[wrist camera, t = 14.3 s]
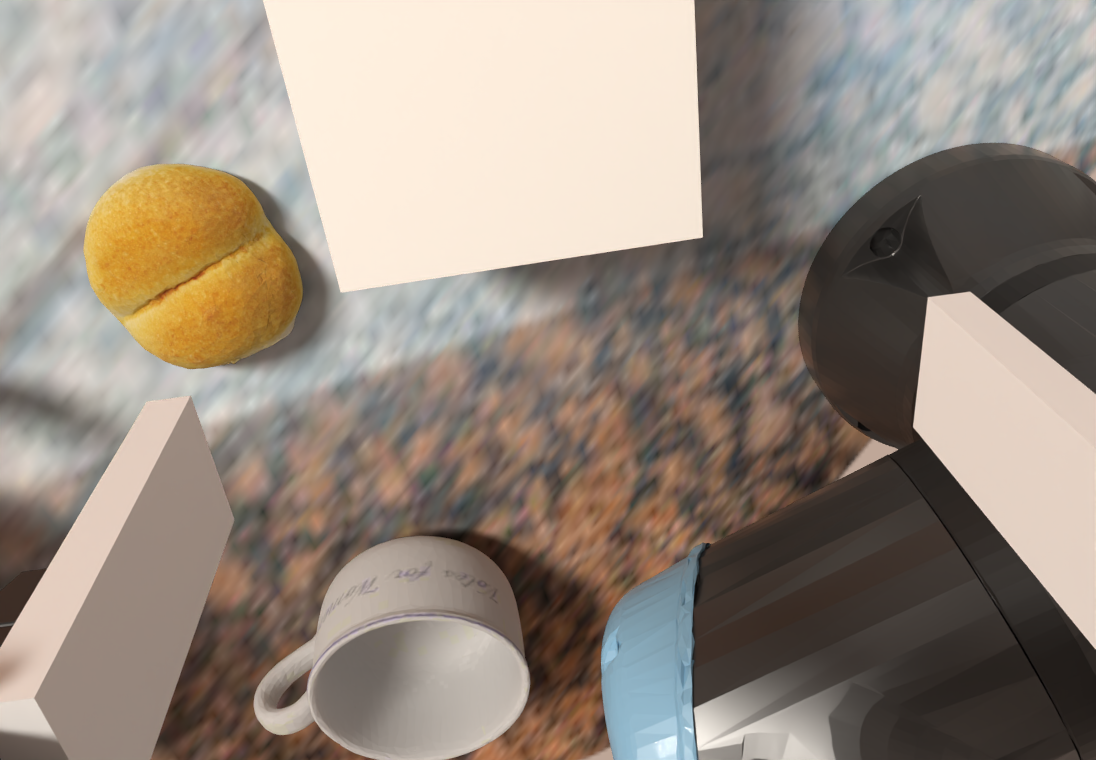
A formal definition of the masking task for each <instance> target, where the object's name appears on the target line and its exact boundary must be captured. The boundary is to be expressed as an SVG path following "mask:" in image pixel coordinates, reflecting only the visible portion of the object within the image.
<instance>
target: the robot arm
mask: <svg viewBox="0 0 1096 760" xmlns="http://www.w3.org/2000/svg"><path fill="white" fill-rule="evenodd" d="M798 329H799V341H800V346H801V351H802V354H803V358H804V361H805V363H806V366H807V369H808V370H809V372H810V374H811V376H812V378H813V380H814V381H815V383H816V384H817V386H818V387H819V389H820V390H821V391H822V393H823V394H824V396H825V397H826V399H827V400H828V401H829V403H830V404H831V405H832V407H833V408H834V409H835V410H836V411H837V412H838V414H839V415H840V416H841V417H842V418H843V419H845V420H846V421H847V422H848V423H849V424H850V425H851V426H853V427H854V428H856V429H857V430H858V431H860V432H862V433H863V434H865V435H866V436H868V437H870V438H872V439H874V440H876V441H879V442H881V443H883V444H886V445H889V446H892V447H895V448H897V449H898V450H897V451H896V452H894V453H892V454H890V455H887V456H885V457H883V458H881V459H879V460H877V461H875V462H873V463H871V464H869V465H867V466H865V467H863V468H861V469H859V470H857V471H855V472H853V473H851V474H849V475H847V476H845V477H843V478H841V479H839V480H837V481H835V482H834V483H832V484H830V485H828V486H826V487H824V488H822V489H820V490H818V491H816V492H814V493H812V494H810V495H808V496H806V497H804V498H802V499H800V500H798V501H796V502H794V503H792V504H790V505H788V506H786V507H784V508H782V509H780V510H778V511H776V512H774V513H773V514H771V515H769V516H767V517H765V518H763V519H761V520H759V521H757V522H755V523H753V524H751V525H749V526H747V527H745V528H743V529H741V530H739V531H737V532H735V533H733V534H731V535H729V536H727V537H725V538H723V539H721V540H719V541H717V542H715V543H714V544H712V545H711V544H710V543H702V544H700V545H698V546H696V547H694V548H693V549H692V550H691V552H690V554H689V556H688V557H687V558H685V559H683V560H681V561H680V562H678V563H676V564H675V565H673V566H671V567H669V568H668V569H666V570H664V571H662V572H661V573H659V574H657V575H655V576H654V577H652V578H650V579H649V580H647V581H645V582H643V583H642V584H640V585H638V586H636V587H635V588H633V589H632V590H630V591H629V592H628V593H627V594H625V595H624V596H623V598H622V599H621V600H620V601H619V602H618V603H617V604H616V606H615V607H614V609H613V611H612V613H611V615H610V617H609V619H608V622H607V625H606V628H605V632H604V637H603V642H602V651H601V670H602V696H603V705H604V712H605V719H606V725H607V731H608V736H609V741H610V745H611V750H612V754H613V759H614V760H1096V182H1095V181H1094V180H1093V179H1092V178H1091V177H1089V176H1088V175H1086V174H1085V173H1083V172H1082V171H1080V170H1078V169H1076V168H1075V167H1073V166H1071V165H1069V164H1067V163H1065V162H1063V161H1061V160H1059V159H1057V158H1055V157H1053V156H1051V155H1049V154H1046V153H1044V152H1042V151H1039V150H1036V149H1033V148H1030V147H1026V146H1021V145H1015V144H1007V143H980V144H971V145H965V146H960V147H955V148H951V149H948V150H944V151H941V152H938V153H935V154H932V155H929V156H927V157H924V158H922V159H920V160H917V161H915V162H913V163H911V164H909V165H907V166H905V167H904V168H902V169H900V170H898V171H897V172H895V173H893V174H892V175H890V176H889V177H887V178H886V179H884V180H883V181H881V182H880V183H879V184H877V185H876V186H875V187H873V188H872V189H871V190H870V191H868V192H867V193H866V194H865V195H864V196H863V197H861V198H860V199H859V200H858V201H857V202H856V203H855V204H854V205H853V206H852V207H851V208H850V209H849V210H848V211H847V212H846V213H845V215H844V216H843V217H842V218H841V219H840V221H839V222H838V223H837V224H836V225H835V227H834V228H833V229H832V231H831V232H830V234H829V235H828V236H827V238H826V240H825V241H824V243H823V244H822V246H821V248H820V250H819V251H818V253H817V255H816V257H815V259H814V261H813V263H812V265H811V268H810V270H809V273H808V275H807V278H806V281H805V285H804V288H803V292H802V296H801V301H800V308H799V319H798ZM233 522H234V517H233V514H232V511H231V509H230V506H229V503H228V500H227V497H226V494H225V492H224V489H223V486H222V483H221V480H220V477H219V475H218V472H217V469H216V466H215V463H214V460H213V458H212V455H211V452H210V449H209V446H208V443H207V441H206V438H205V435H204V432H203V429H202V426H201V424H200V421H199V418H198V415H197V412H196V410H195V407H194V404H193V401H192V398H191V396H185V397H177V398H170V399H162V400H155V401H147V402H146V404H145V405H144V407H143V409H142V410H141V412H140V414H139V415H138V417H137V419H136V420H135V422H134V424H133V426H132V427H131V429H130V431H129V432H128V434H127V436H126V437H125V439H124V441H123V442H122V444H121V446H120V447H119V449H118V451H117V452H116V454H115V456H114V457H113V459H112V461H111V462H110V464H109V466H108V468H107V469H106V471H105V473H104V474H103V476H102V478H101V479H100V481H99V483H98V484H97V486H96V488H95V489H94V491H93V493H92V494H91V496H90V498H89V499H88V501H87V503H86V504H85V506H84V508H83V510H82V511H81V513H80V515H79V516H78V518H77V520H76V521H75V523H74V525H73V526H72V528H71V530H70V531H69V533H68V535H67V536H66V538H65V540H64V541H63V543H62V545H61V546H60V548H59V550H58V551H57V553H56V555H55V557H54V558H53V560H52V562H51V563H50V565H49V567H48V568H47V569H41V570H33V571H26V572H22V573H21V574H20V575H18V576H17V577H16V578H15V579H14V580H13V581H12V582H11V583H9V584H8V585H7V586H6V587H5V588H4V589H3V590H2V591H0V760H150V759H151V756H152V754H153V751H154V748H155V745H156V742H157V739H158V736H159V734H160V731H161V728H162V725H163V722H164V719H165V716H166V714H167V711H168V708H169V705H170V702H171V699H172V697H173V694H174V691H175V688H176V685H177V682H178V679H179V677H180V674H181V671H182V668H183V665H184V662H185V659H186V657H187V654H188V651H189V648H190V645H191V642H192V639H193V637H194V634H195V631H196V628H197V625H198V622H199V619H200V617H201V614H202V611H203V608H204V605H205V602H206V599H207V597H208V594H209V591H210V588H211V585H212V582H213V579H214V577H215V574H216V571H217V568H218V565H219V562H220V559H221V557H222V554H223V551H224V548H225V545H226V542H227V539H228V537H229V534H230V531H231V528H232V525H233Z"/></svg>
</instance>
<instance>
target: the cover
mask: <svg viewBox="0 0 1096 760" xmlns="http://www.w3.org/2000/svg"><path fill="white" fill-rule="evenodd" d="M263 2H264V6H265V9H266V13H267V17H268V21H269V24H270V28H271V32H272V36H273V39H274V43H275V47H276V51H277V54H278V58H279V62H280V66H281V70H282V73H283V77H284V81H285V85H286V88H287V92H288V96H289V100H290V103H291V107H292V111H293V115H294V118H295V122H296V126H297V130H298V133H299V137H300V141H301V145H302V148H303V152H304V156H305V160H306V164H307V167H308V171H309V175H310V179H311V182H312V186H313V190H314V194H315V197H316V201H317V205H318V209H319V212H320V216H321V220H322V224H323V227H324V231H325V235H326V239H327V242H328V246H329V250H330V254H331V257H332V261H333V265H334V269H335V273H336V276H337V280H338V284H339V288H340V291H341V293H342V292H349V291H355V290H362V289H368V288H375V287H381V286H388V285H394V284H401V283H408V282H414V281H421V280H427V279H434V278H440V277H447V276H453V275H460V274H467V273H473V272H480V271H486V270H493V269H499V268H506V267H513V266H519V265H526V264H532V263H539V262H545V261H552V260H558V259H565V258H572V257H578V256H585V255H591V254H598V253H604V252H611V251H617V250H624V249H631V248H637V247H644V246H650V245H657V244H663V243H670V242H677V241H683V240H690V239H696V238H703V228H702V200H701V172H700V145H699V117H698V89H697V62H696V34H695V6H694V0H263Z"/></svg>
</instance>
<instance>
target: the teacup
mask: <svg viewBox="0 0 1096 760" xmlns="http://www.w3.org/2000/svg"><path fill="white" fill-rule="evenodd" d="M310 669H312V670H311V672H310V675H309V678H308V684H307V691H306V692H305V694H304V695H303V696H302V697H301V698H300V699H299V700H298V701H297V702H296V703H294V704H293V705H291V706H289V707H286V708H283V709H277V704H278V701H279V699H280V697H281V696H282V694H283V693H284V692H285V691H286V689H287V688H288V687H289V686H290V685H291V684H292V683H293V682H294V681H296V680H297V679H298V678H299V677H301V676H302V675H303V674H304V673H306V672H307V671H309V670H310ZM529 689H530V673H529V668H528V665H527V661H526V659H525V653H524V645H523V637H522V630H521V624H520V618H519V613H518V608H517V604H516V600H515V597H514V594H513V591H512V588H511V586H510V584H509V582H508V580H507V578H506V576H505V575H504V573H503V572H502V571H501V570H500V568H499V567H498V566H497V565H496V564H495V563H494V562H493V561H492V560H491V559H490V558H489V557H488V556H486V555H485V554H484V553H482V552H480V551H479V550H477V549H475V548H474V547H472V546H469V545H467V544H465V543H462V542H460V541H457V540H453V539H449V538H443V537H435V536H410V537H403V538H398V539H393V540H389V541H387V542H384V543H381V544H378V545H376V546H374V547H372V548H370V549H368V550H366V551H364V552H362V553H361V554H359V555H358V556H356V557H355V558H354V559H352V560H351V561H350V562H349V563H348V564H346V565H345V567H344V568H343V569H342V570H341V571H340V572H339V573H338V574H337V576H336V577H335V579H334V580H333V582H332V583H331V585H330V587H329V589H328V591H327V593H326V596H325V598H324V601H323V605H322V608H321V612H320V617H319V621H318V627H317V634H316V635H315V636H314V637H313V639H312V640H310V641H309V642H307V643H306V644H304V645H303V646H301V647H300V648H298V649H297V650H295V651H294V652H292V653H291V654H290V655H288V656H287V657H285V658H284V659H283V660H281V661H280V662H279V663H278V664H277V665H275V666H274V667H273V668H272V669H271V670H270V671H269V672H268V673H267V675H266V676H265V677H264V678H263V679H262V681H261V682H260V684H259V686H258V688H257V690H256V693H255V697H254V710H255V714H256V717H257V719H258V720H259V722H260V723H261V724H262V726H263V727H264V728H265V729H266V730H268V731H270V732H272V733H274V734H277V735H287V734H293V733H295V732H298V731H300V730H302V729H304V728H306V727H307V726H308V725H310V724H311V723H312V722H314V721H315V722H316V723H317V724H318V726H319V727H320V728H321V730H322V731H323V732H324V733H325V734H326V735H328V736H329V737H330V738H331V739H332V740H334V741H336V742H337V743H339V744H340V745H341V746H343V747H344V748H346V749H348V750H350V751H352V752H354V753H356V754H359V755H362V756H365V757H369V758H373V759H378V760H445V759H450V758H454V757H457V756H460V755H464V754H466V753H469V752H471V751H474V750H476V749H478V748H480V747H482V746H484V745H486V744H488V743H489V742H491V741H493V740H494V739H496V738H498V737H499V736H500V735H501V734H503V733H504V732H505V731H506V730H508V729H509V728H510V727H511V726H512V725H513V723H514V722H515V721H516V720H517V718H518V717H519V716H520V714H521V713H522V711H523V709H524V707H525V705H526V702H527V699H528V697H529Z"/></svg>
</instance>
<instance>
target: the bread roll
mask: <svg viewBox="0 0 1096 760" xmlns="http://www.w3.org/2000/svg"><path fill="white" fill-rule="evenodd" d="M84 256H85V259H86V267H87V273H88V277H89V281H90V284H91V287H92V288H93V290H94V292H95V293H96V295H97V296H98V298H99V300H100V301H101V303H102V304H103V305H104V306H105V307H106V308H107V309H108V310H109V311H110V312H111V313H112V314H113V315H114V316H115V317H116V318H117V319H118V320H119V321H120V322H121V323H122V324H123V325H124V327H125V328H126V329H127V330H128V331H129V332H130V334H131V335H132V336H133V337H134V339H135V340H136V341H137V342H138V343H139V344H140V345H141V346H142V347H143V348H144V349H145V350H147V351H149V352H150V353H152V354H153V355H155V356H157V357H158V358H160V359H162V360H163V361H165V362H168V363H171V364H173V365H176V366H181V367H184V368H187V369H197V368H208V367H214V366H220V365H226V364H230V363H232V364H235V363H236V362H237V361H239V360H240V359H242V358H246V357H248V356H250V355H252V354H255V353H257V352H258V351H260V350H263V349H265V348H268V347H270V346H272V345H274V344H275V343H277V342H278V341H280V340H281V339H283V338H285V337H286V336H288V335H289V334H290V333H291V331H292V330H293V328H294V322H295V317H296V315H297V313H298V310H299V308H300V305H301V302H302V297H303V286H302V280H301V276H300V273H299V269H298V265H297V262H296V259H295V257H294V255H293V253H292V251H291V250H290V248H289V247H288V246H287V244H286V243H285V242H284V240H283V239H282V238H281V236H280V235H279V234H278V233H277V232H276V231H275V229H274V228H273V226H272V225H271V223H270V222H269V220H268V219H267V217H266V216H265V214H264V211H263V208H262V206H261V205H260V203H259V201H258V199H257V198H256V197H255V195H254V194H253V193H252V191H251V190H250V189H249V188H248V187H247V186H246V185H245V184H244V183H243V182H242V181H241V180H239V179H238V178H237V177H235V176H232V175H230V174H228V173H225V172H222V171H219V170H215V169H211V168H206V167H201V166H194V165H187V164H157V165H151V166H145V167H141V168H138V169H137V170H135V171H133V172H130V173H128V174H127V175H125V176H124V177H122V178H121V179H119V180H118V181H117V182H116V183H115V184H113V185H112V186H111V187H110V188H109V189H108V190H107V191H106V192H105V193H104V194H103V196H102V197H101V198H100V199H99V201H98V202H97V204H96V205H95V207H94V209H93V211H92V213H91V215H90V218H89V221H88V224H87V228H86V233H85V241H84Z"/></svg>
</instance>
